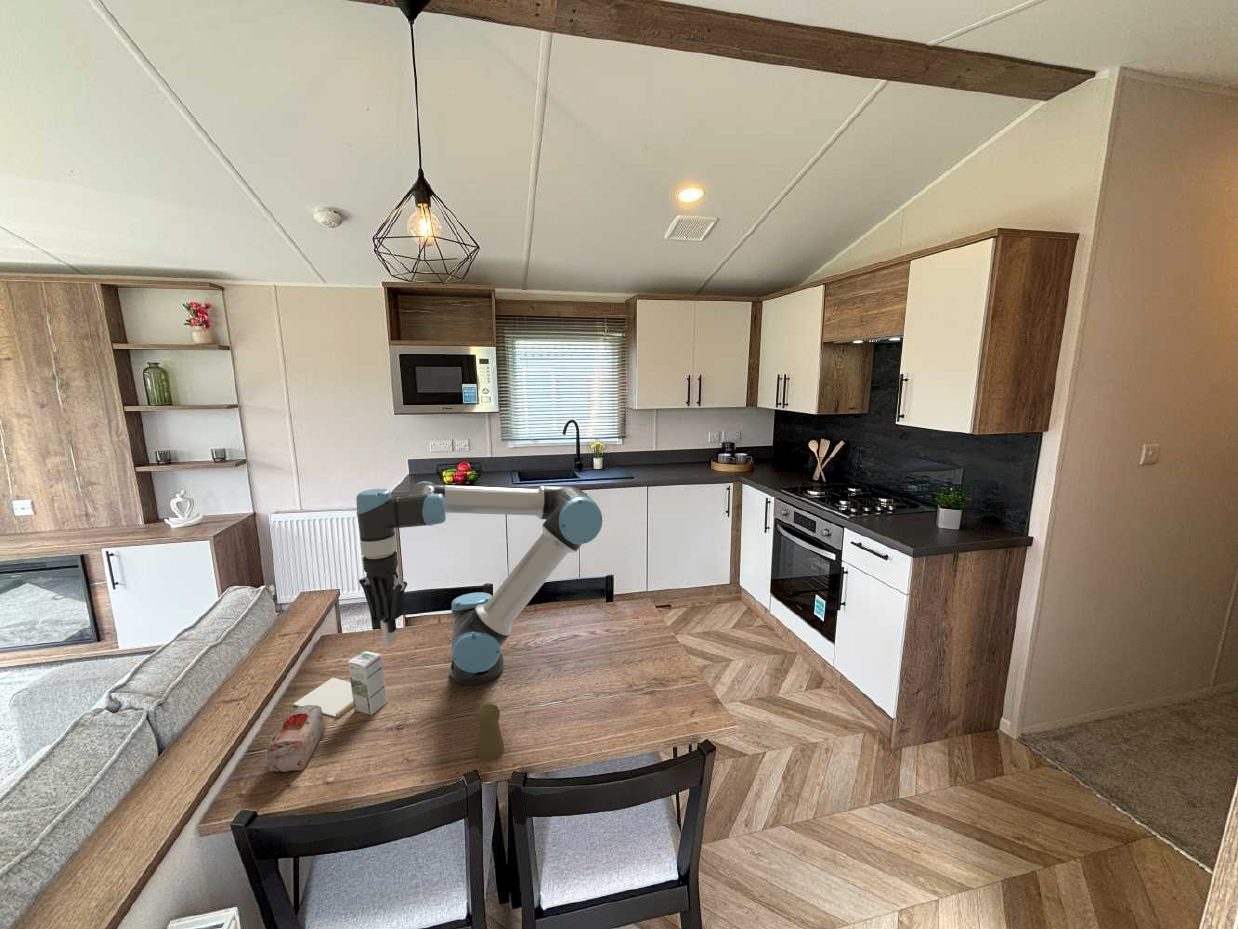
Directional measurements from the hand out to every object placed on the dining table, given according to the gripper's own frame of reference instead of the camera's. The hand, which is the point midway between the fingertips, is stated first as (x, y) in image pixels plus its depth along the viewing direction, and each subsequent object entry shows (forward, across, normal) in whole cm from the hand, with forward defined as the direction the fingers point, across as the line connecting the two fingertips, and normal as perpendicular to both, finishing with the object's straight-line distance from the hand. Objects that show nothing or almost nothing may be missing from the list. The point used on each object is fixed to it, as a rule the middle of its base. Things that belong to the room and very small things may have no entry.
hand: (389, 642), depth 123 cm
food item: (+21, +12, +18) cm, 30 cm away
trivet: (+20, +21, 0) cm, 29 cm away
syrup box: (+20, +9, 0) cm, 22 cm away
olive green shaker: (+20, -30, +3) cm, 36 cm away
